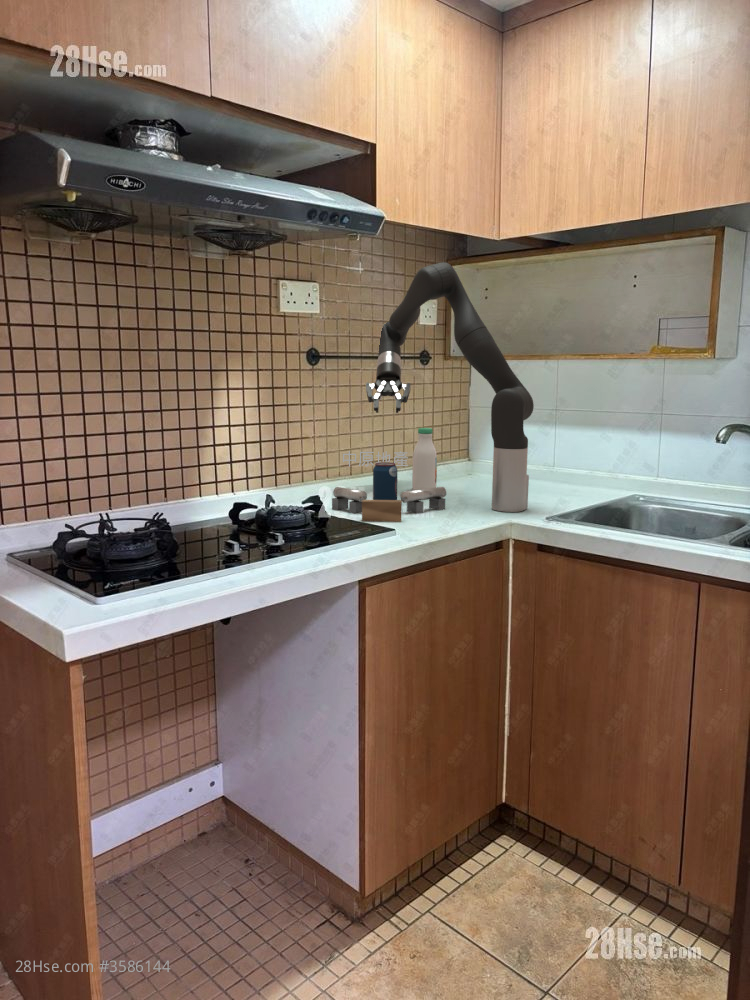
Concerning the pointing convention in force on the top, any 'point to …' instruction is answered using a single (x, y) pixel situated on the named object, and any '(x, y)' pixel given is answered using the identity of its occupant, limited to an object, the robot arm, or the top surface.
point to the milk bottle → (424, 461)
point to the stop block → (381, 510)
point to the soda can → (385, 481)
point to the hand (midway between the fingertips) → (387, 410)
